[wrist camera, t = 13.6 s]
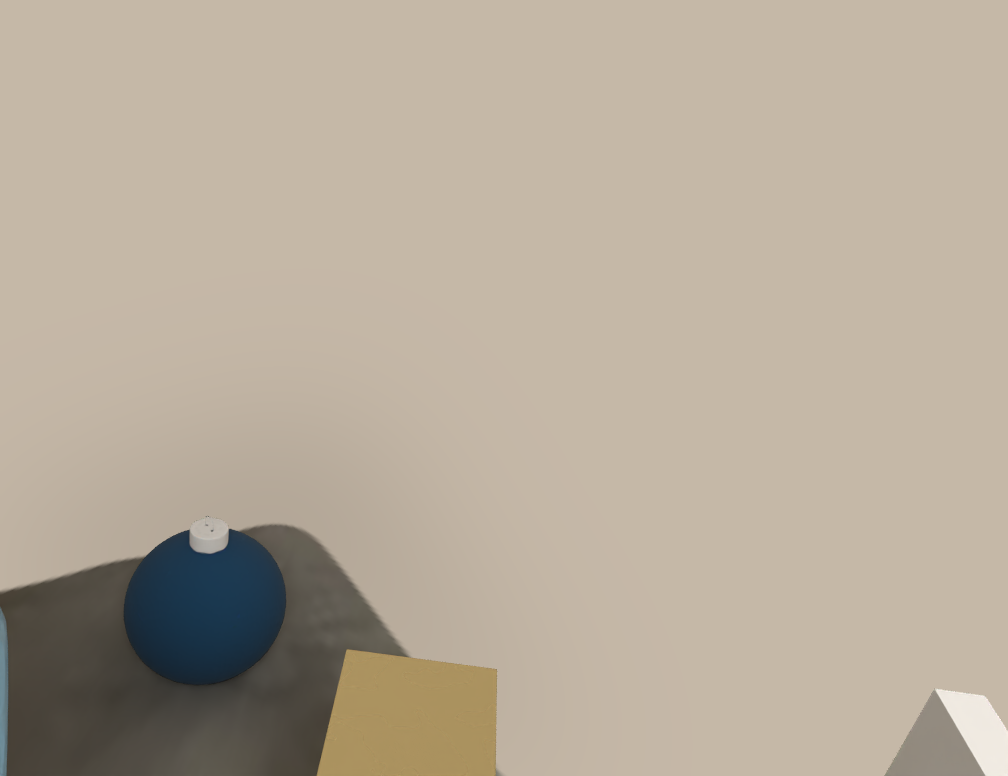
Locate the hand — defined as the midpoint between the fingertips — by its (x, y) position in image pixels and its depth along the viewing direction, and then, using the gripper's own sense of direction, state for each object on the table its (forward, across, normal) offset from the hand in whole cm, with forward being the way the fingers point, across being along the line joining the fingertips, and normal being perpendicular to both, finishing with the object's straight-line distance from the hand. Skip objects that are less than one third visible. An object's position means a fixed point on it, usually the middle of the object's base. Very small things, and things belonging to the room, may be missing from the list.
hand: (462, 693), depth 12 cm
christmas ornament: (+27, -11, -30) cm, 42 cm away
